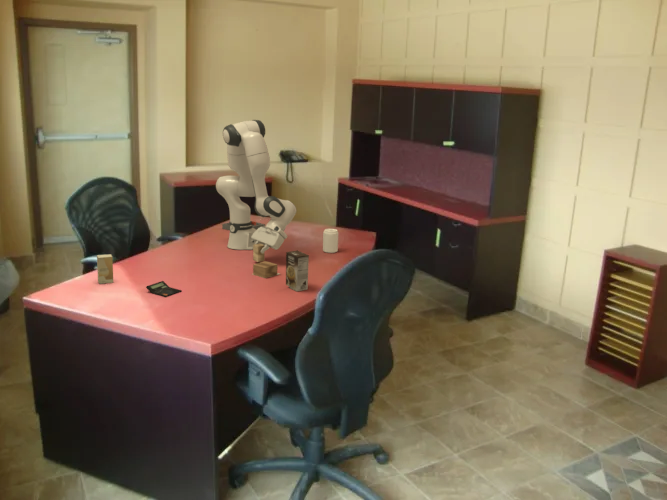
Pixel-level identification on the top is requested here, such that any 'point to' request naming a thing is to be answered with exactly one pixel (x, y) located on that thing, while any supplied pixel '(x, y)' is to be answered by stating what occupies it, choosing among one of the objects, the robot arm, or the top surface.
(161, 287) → the calculator
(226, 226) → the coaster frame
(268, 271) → the walnut brick
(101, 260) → the skincare box
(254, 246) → the oak block
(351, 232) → the top surface
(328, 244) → the beverage can
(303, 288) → the coffee box
